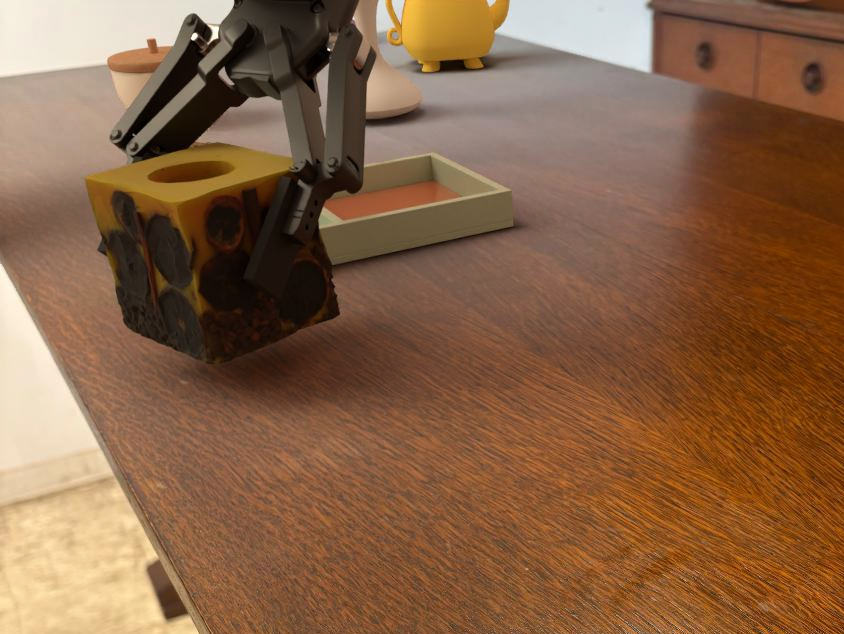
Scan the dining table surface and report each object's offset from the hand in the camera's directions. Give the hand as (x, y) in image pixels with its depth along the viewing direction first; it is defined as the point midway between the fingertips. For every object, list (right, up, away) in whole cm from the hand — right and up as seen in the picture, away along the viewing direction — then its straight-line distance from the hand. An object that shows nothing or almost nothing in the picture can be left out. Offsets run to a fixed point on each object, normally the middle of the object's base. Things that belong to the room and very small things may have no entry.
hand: (186, 275), depth 66 cm
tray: (+2, +10, +27) cm, 29 cm away
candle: (+2, -2, +4) cm, 5 cm away
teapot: (+10, +52, +90) cm, 104 cm away
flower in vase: (+1, +34, +64) cm, 73 cm away
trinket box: (-23, +34, +65) cm, 77 cm away
